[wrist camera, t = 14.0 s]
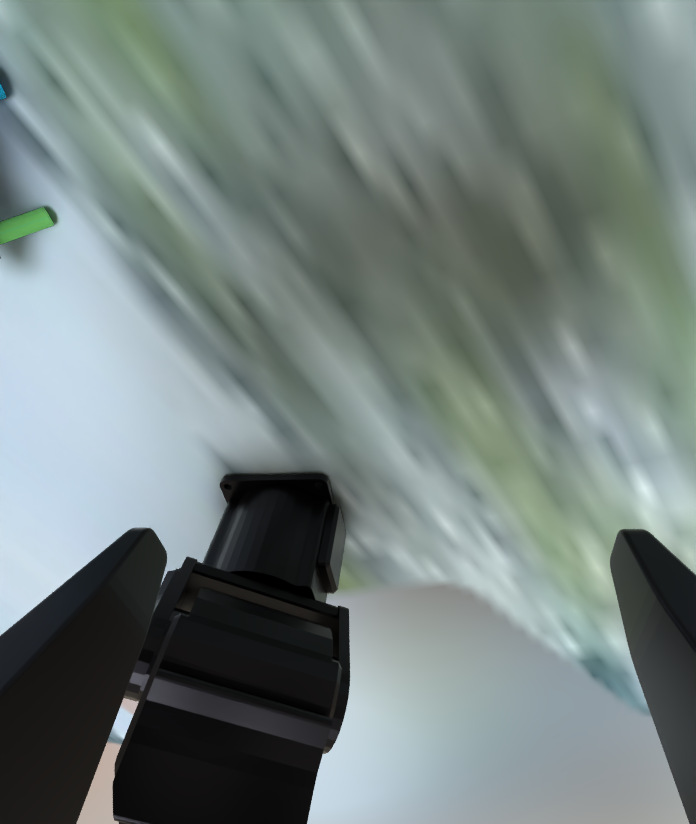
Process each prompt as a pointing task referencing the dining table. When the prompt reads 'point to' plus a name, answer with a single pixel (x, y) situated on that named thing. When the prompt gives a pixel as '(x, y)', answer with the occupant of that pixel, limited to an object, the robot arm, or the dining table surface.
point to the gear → (23, 218)
